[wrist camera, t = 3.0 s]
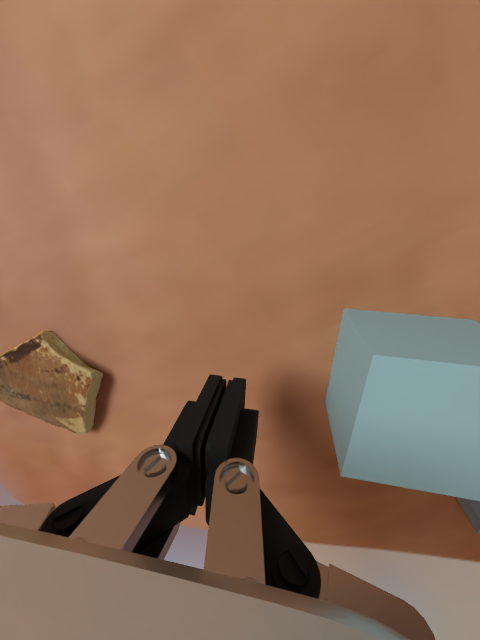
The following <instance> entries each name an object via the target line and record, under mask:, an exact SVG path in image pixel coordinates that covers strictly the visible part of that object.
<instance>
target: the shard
mask: <svg viewBox="0 0 480 640" xmlns="http://www.w3.org/2000/svg"><path fill="white" fill-rule="evenodd" d="M102 377H103V373H102V372H100V371H98V370H96V369H93V368H91V367H89V366H87V364H86V363H84V362H83V361H82V360H81V359H79V358H78V357H77V356H76V355H75V354H74V353H73V352H71V351H70V349H69V348H68V347H67V346H66V345H65V344H64V343H63V342H62V341H61V340H60V339H59V338H58V337H57V335H56V334H55V333H53V332H52V331H42V332H40V333H39V334H37V335H36V336H35V337H33V338H31V339H30V340H28V341H26V342H24V343H21V344H20V345H18V346H17V347H15V348H14V349H11V350H9V351H8V352H6V353H4V354H3V355H1V356H0V401H2V402H4V403H5V404H7V405H9V406H11V407H13V408H15V409H18V410H21V411H24V412H25V413H27V414H29V415H31V416H34V417H36V418H38V419H41V420H44V421H45V422H47V423H50V424H52V425H55V426H58V427H63V428H64V429H67V430H69V431H72V432H74V433H87V432H89V430H90V429H91V428H92V426H93V424H94V415H95V406H96V397H97V394H98V391H99V388H100V383H101V379H102Z"/></svg>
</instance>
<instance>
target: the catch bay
mask: <svg viewBox="0 0 480 640" xmlns="http://www.w3.org/2000/svg"><path fill="white" fill-rule="evenodd" d="M456 499H457V501H458V502H459V504H460V506H461V507H462V509H463V511H464V512H465V514H466V515H467V517H468V519H469V520H470V522H471V524H472V525H473V527H474V529H475V530H476V532H477V533H479V534H480V501H476V500H470V499H465V498H459V497H456Z"/></svg>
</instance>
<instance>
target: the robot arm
mask: <svg viewBox="0 0 480 640" xmlns="http://www.w3.org/2000/svg"><path fill="white" fill-rule="evenodd" d="M245 389H246V379H242V378H234V379H233V380H229V381H228V384H227V387H226V380H225V379H222V376H218V375H209V377H208V379H207V381H206V383H205V385H204V387H203V389H202V391H201V393H200V395H199V397H198V399H197V401H196V402H195V401H188V402H187V403H186V405H185V407H184V408H183V410H182V412H181V414H180V415H179V417H178V419H177V421H176V423H175V424H174V426H173V428H172V430H171V432H170V433H169V435H168V437H167V439H166V440H165V442H164V444H163V445H154V446H151V447H148V448H147V449H145V450H143V451H142V452H141V453H140V454H139V455H137V457H136V458H135V459H134V460H133V461H132V462H131V464H130V465H129V466H128V467H127V468H126V470H125V471H124V472H123V473H122V474H121V475H120V476H117V477H115V478H113V479H111V480H109V481H107V482H105V483H103V484H101V485H99V486H97V487H95V488H92V489H90V490H88V491H86V492H84V493H82V494H80V495H78V496H76V497H74V498H72V499H69V500H67V501H66V502H64V503H62V504H61V505H59V506H58V507H55V505H54V503H48V504H29V505H9V506H0V640H435V637H434V634H433V632H432V631H431V629H430V627H429V626H428V624H427V622H426V621H425V619H424V618H423V617H422V616H421V615H420V614H419V612H418V611H417V610H416V609H415V608H414V607H412V606H411V605H410V604H408V603H407V602H405V601H404V600H402V599H400V598H398V597H396V596H394V595H392V594H390V593H388V592H386V591H384V590H382V589H380V588H378V587H376V586H374V585H372V584H370V583H368V582H366V581H364V580H362V579H360V578H358V577H356V576H354V575H352V574H350V573H347V572H346V571H343V570H341V569H339V568H337V567H335V566H333V565H331V564H330V565H329V567H327V566H325V565H323V564H321V563H319V562H317V561H316V560H315V559H314V557H313V555H312V554H311V552H310V551H309V550H308V548H307V547H306V546H305V545H304V543H303V542H302V541H301V540H300V538H299V537H298V536H297V535H296V533H295V532H294V531H293V530H292V528H291V527H290V526H289V524H288V523H287V522H286V521H285V519H284V518H283V517H282V516H281V514H280V513H279V512H278V511H277V509H276V508H275V507H274V506H273V504H272V503H271V502H270V501H269V499H268V498H267V497H266V496H265V494H264V493H263V492H262V491H261V489H260V487H259V476H258V472H257V470H256V468H255V467H254V465H253V460H254V452H255V445H256V436H257V426H258V414H259V411H258V410H251V409H244V407H245ZM205 496H206V522H207V524H208V526H209V529H208V538H207V546H206V555H205V563H204V570H203V569H199V568H195V567H190V566H186V565H182V564H178V563H174V562H170V561H165V560H164V558H165V556H166V554H167V552H168V550H169V548H170V546H171V544H172V542H173V540H174V538H175V536H176V534H177V532H178V529H179V526H180V522H181V521H183V520H184V519H186V518H187V517H188V516H189V514H190V515H195V513H196V509H197V506H202V505H203V503H204V500H205Z"/></svg>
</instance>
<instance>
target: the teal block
mask: <svg viewBox="0 0 480 640" xmlns="http://www.w3.org/2000/svg"><path fill="white" fill-rule="evenodd" d="M325 403H326V408H327V413H328V418H329V422H330V427H331V432H332V437H333V442H334V447H335V451H336V456H337V461H338V466H339V471H340V475H341V476H342V477H348V478H353V479H359V480H364V481H370V482H376V483H381V484H387V485H392V486H398V487H404V488H409V489H415V490H420V491H426V492H431V493H437V494H443V495H448V496H454V497H459V498H465V499H470V500H476V501H480V323H479V322H477V321H475V320H471V319H460V318H448V317H436V316H425V315H413V314H402V313H390V312H379V311H367V310H356V309H344V311H343V316H342V320H341V325H340V330H339V335H338V340H337V345H336V350H335V355H334V360H333V365H332V370H331V375H330V380H329V385H328V390H327V395H326V400H325Z"/></svg>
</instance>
